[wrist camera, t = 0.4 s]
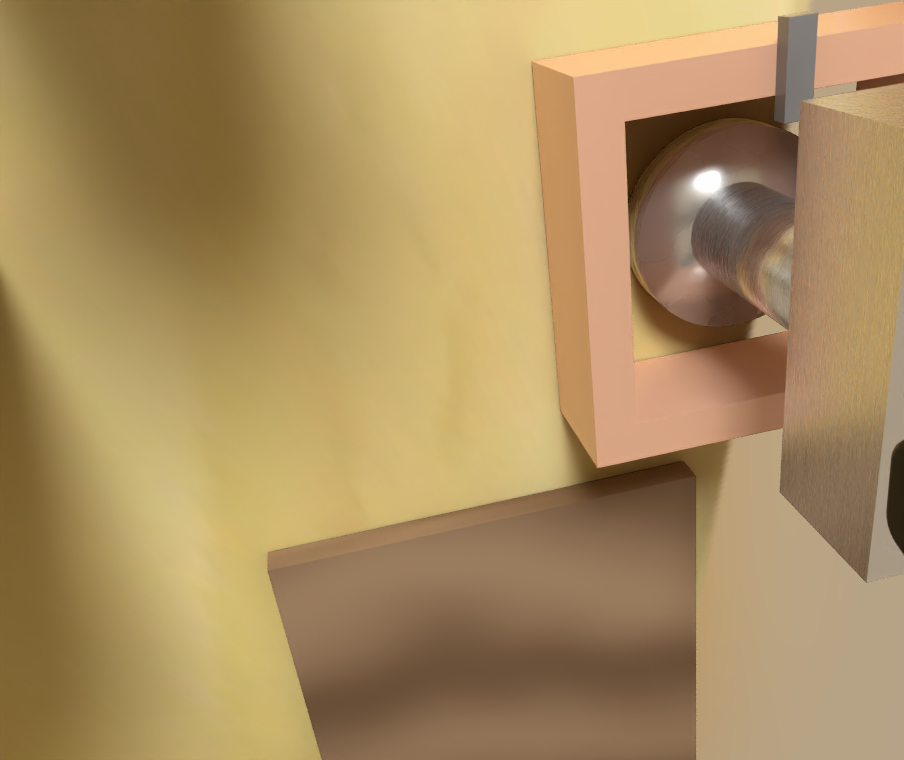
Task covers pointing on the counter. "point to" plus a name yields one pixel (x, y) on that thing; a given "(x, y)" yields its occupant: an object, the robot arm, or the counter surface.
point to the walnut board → (505, 628)
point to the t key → (800, 287)
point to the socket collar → (607, 228)
